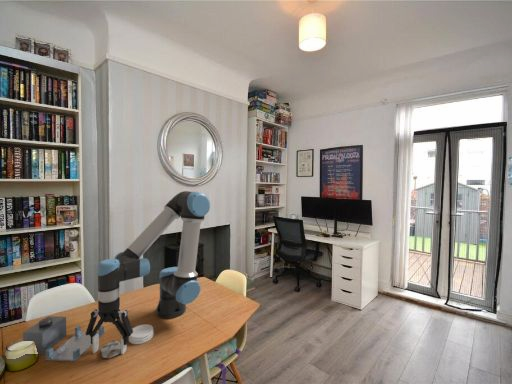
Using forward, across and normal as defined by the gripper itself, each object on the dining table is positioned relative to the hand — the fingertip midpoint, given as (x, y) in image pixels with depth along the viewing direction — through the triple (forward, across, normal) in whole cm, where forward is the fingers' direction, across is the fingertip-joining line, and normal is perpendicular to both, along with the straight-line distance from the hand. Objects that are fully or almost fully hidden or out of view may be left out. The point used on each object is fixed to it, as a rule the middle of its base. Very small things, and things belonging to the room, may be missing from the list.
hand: (109, 351), depth 103 cm
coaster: (+1, -8, -10) cm, 13 cm away
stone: (+1, 0, 0) cm, 1 cm away
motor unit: (0, +22, -3) cm, 22 cm away
